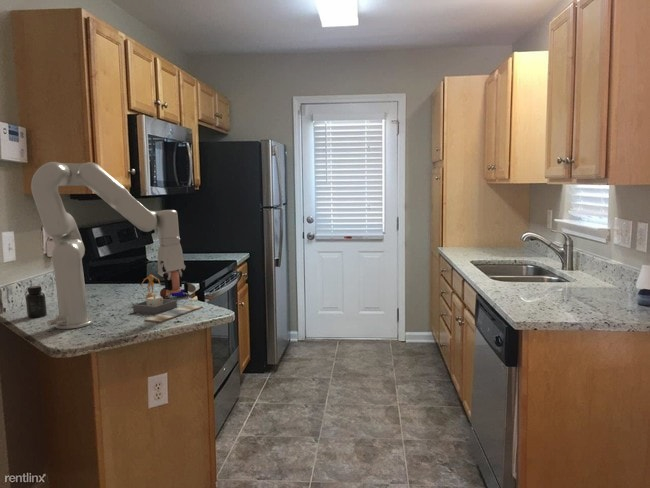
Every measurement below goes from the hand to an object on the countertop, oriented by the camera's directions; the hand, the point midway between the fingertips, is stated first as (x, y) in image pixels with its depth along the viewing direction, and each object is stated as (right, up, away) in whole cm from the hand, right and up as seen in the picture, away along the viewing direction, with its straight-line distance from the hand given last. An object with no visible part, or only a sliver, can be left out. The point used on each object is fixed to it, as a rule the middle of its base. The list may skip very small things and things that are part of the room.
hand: (173, 287), depth 204 cm
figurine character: (-8, -7, +33) cm, 34 cm away
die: (-10, -9, +10) cm, 17 cm away
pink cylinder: (0, -2, 0) cm, 2 cm away
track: (0, -10, +1) cm, 10 cm away
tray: (-10, -10, +10) cm, 17 cm away
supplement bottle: (-57, -12, +6) cm, 58 cm away
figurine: (-17, -8, +25) cm, 31 cm away
